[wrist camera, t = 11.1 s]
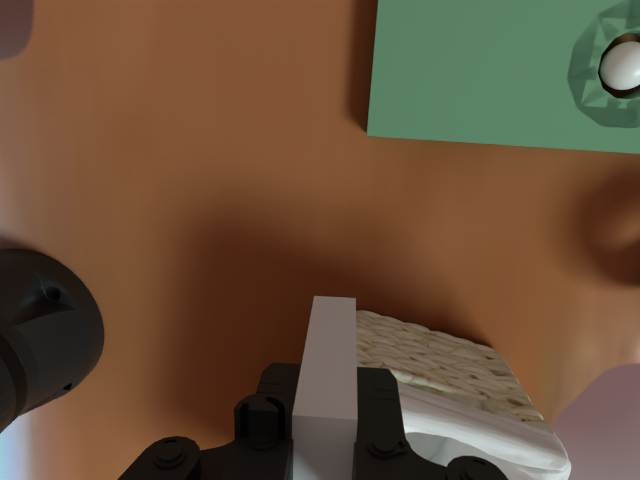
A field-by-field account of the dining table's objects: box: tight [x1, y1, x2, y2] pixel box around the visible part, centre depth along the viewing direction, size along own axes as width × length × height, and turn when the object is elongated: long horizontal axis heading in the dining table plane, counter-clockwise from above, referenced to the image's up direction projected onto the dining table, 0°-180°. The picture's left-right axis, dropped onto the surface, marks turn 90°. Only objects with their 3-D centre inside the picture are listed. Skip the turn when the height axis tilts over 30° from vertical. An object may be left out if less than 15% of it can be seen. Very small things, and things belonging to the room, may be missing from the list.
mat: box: [367, 0, 640, 154], centre depth 35 cm, size 24×12×2 cm, turn 87°
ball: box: [600, 42, 640, 90], centre depth 34 cm, size 3×3×3 cm
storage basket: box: [356, 310, 571, 480], centre depth 39 cm, size 24×16×15 cm
